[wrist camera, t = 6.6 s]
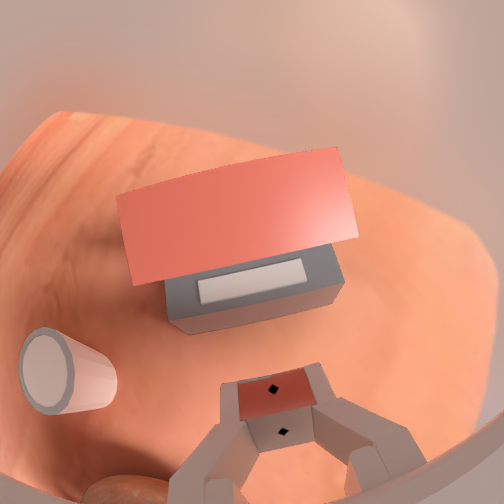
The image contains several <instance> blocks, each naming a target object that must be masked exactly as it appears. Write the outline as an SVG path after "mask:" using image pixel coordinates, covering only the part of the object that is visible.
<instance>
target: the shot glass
mask: <svg viewBox="0 0 504 504" xmlns="http://www.w3.org/2000/svg"><path fill="white" fill-rule="evenodd" d="M18 370H19V378H20V384H21V387H22V389H23V392H24V394H25V397H26V399H27V400H28V401H29V403H30V404H31V405H32V406H33V408H34V409H35V410H37V411H39V412H40V413H42V414H44V415H46V416H47V415H59V414H67V413H74V412H81V411H87V410H93V409H99V408H104V407H106V406H107V405H108V404H110V403H111V402H112V401H113V398H114V396H115V394H116V392H117V382H118V380H117V376H116V371H115V368H114V366H113V365H112V363H111V361H110V360H109V359H108V358H107V357H106V356H104V355H103V354H102V353H100V352H98V351H96V350H94V349H92V348H90V347H88V346H86V345H84V344H82V343H80V342H78V341H76V340H74V339H72V338H70V337H68V336H66V335H65V334H63V333H61V332H59V331H57V330H55V329H52V328H48V327H45V326H44V327H41V328H38V329H35V330H34V331H33V332H32V333H31V334H30V335H29V336H28V337H27V338H26V339H25V342H24V344H23V346H22V349H21V351H20V357H19V365H18Z"/></svg>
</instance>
